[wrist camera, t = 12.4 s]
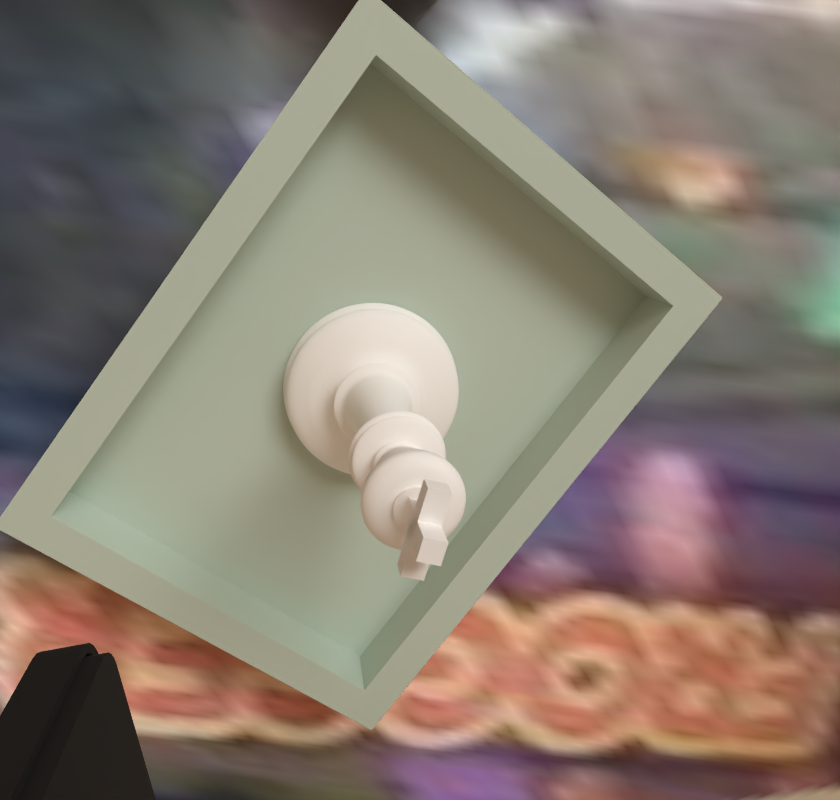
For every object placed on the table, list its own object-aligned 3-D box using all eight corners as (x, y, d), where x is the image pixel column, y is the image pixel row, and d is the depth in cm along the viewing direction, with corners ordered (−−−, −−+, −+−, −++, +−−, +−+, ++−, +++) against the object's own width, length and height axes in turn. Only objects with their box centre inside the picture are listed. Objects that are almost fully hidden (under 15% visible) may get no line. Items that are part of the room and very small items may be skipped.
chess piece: (478, 327, 23) (616, 447, 13) (428, 486, 24) (523, 701, 14) (307, 282, 21) (324, 375, 12) (264, 449, 23) (247, 656, 13)
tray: (680, 284, 24) (722, 298, 22) (364, 678, 26) (371, 730, 24) (358, 8, 21) (367, -13, 18) (24, 488, 23) (-7, 526, 20)
